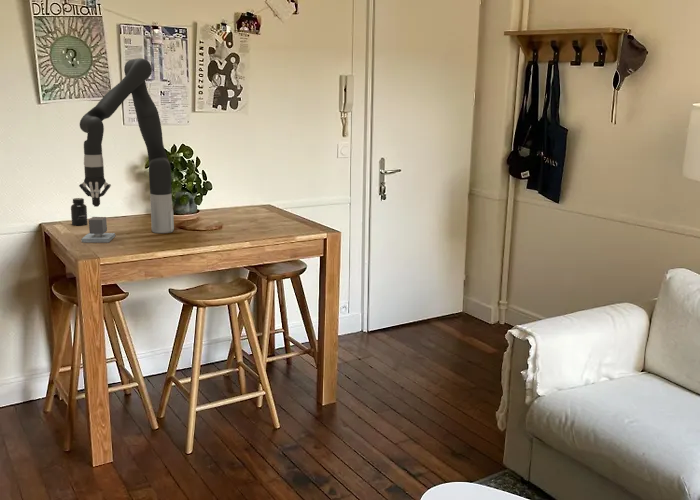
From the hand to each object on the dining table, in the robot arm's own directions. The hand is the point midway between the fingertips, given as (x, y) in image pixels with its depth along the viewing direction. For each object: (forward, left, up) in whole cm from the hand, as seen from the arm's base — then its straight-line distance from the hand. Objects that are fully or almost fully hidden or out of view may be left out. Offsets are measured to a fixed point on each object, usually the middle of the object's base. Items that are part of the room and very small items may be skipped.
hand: (96, 206), depth 296 cm
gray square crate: (0, 0, -11) cm, 11 cm away
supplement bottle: (+16, -28, -15) cm, 36 cm away
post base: (0, 0, -14) cm, 14 cm away
